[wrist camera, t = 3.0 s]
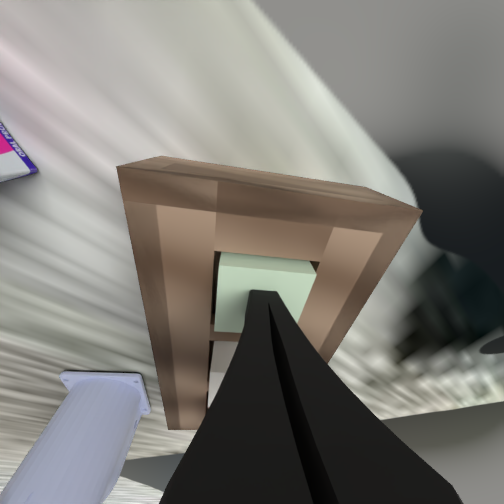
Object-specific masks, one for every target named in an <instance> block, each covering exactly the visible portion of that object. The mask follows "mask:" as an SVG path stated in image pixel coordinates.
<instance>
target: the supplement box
mask: <svg viewBox="0 0 504 504" xmlns="http://www.w3.org/2000/svg"><path fill="white" fill-rule="evenodd" d="M36 172H37V169H36V167H35V166H34V165H33V163H32V162H31V161H30V160H29V158H28V157H27V156H26V155H25V153H24V152H23V151H22V150H21V149H20V148H19V146H18V145H17V144H16V143H15V141H14V140H13V138H12V137H11V136H10V135H9V133H8V132H7V131H6V129H5V128H4V127H3V125H2V124H1V122H0V182H4V181H8V180H12V179H15V178H19V177H23V176H27V175H30V174H33V173H36Z"/></svg>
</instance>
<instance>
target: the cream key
mask: <svg viewBox="0 0 504 504" xmlns="http://www.w3.org/2000/svg"><path fill="white" fill-rule="evenodd" d="M237 344H238V342H230V341H214V347H213V354H212V361H211V368H210V380H209V395H208V407H210V405H211V403H212V401H213V399H214V397H215V395H216V393H217V391H218V389H219V387H220V384H221V382H222V380H223V378H224V376H225V373H226V371H227V369H228V367H229V364H230V362H231V360H232V357H233V355H234V352H235V350H236V347H237Z"/></svg>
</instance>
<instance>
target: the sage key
mask: <svg viewBox="0 0 504 504" xmlns="http://www.w3.org/2000/svg"><path fill="white" fill-rule="evenodd" d="M316 275H317V274H316V272H315V270H314V269H313V267H312V265H311V263H310V261H309V260H299V259H289V258H280V257H270V256H260V255H250V254H241V253H231V252H221V257H220V262H219V271H218V285H217V299H216V312H215V326H214V331H217V332H235V333H242V330H243V327H244V321H245V313H246V307H247V302H248V297H249V291H250V290H252V289H255V290H267V291H277V292H278V293H279V295H280V297H281V299H282V300H283V302H284V304H285V305H286V307H287V309H288V310H289V312H290V313H291V315H292V317H293V318H294V320H295V321H296V323H298V320H299V318H300V315H301V313H302V310H303V308H304V305H305V303H306V300H307V298H308V295H309V293H310V290H311V288H312V285H313V283H314V280H315V278H316Z"/></svg>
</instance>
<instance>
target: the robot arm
mask: <svg viewBox="0 0 504 504" xmlns="http://www.w3.org/2000/svg"><path fill="white" fill-rule="evenodd" d="M59 378H60V379H61V381H62V382H63V383H64V385H65V386H66V388H67V389H68V391H69V393H68V395H67V396H66V398H65V399H64V401H63V402H62V404H61V405H60V407H59V408H58V410H57V411H56V413H55V414H54V416H53V417H52V418H51V420H50V421H49V423H48V424H47V426H46V427H45V429H44V430H43V432H42V433H41V435H40V436H39V438H38V439H37V441H36V442H35V444H34V445H33V447H32V448H31V449H30V451H29V452H28V454H27V455H26V457H25V458H24V460H23V461H22V463H21V464H20V466H19V467H18V469H17V470H16V472H15V473H14V475H13V476H12V478H11V479H10V481H9V482H8V483H7V485H6V486H5V488H4V489H3V491H2V492H1V494H0V504H102V503H103V502H104V500H105V499H106V498H107V497H108V495H109V494H110V492H111V491H112V489H113V488H114V486H115V484H116V482H117V480H118V478H119V475H120V473H121V470H122V467H123V465H124V462H125V459H126V456H127V453H128V451H129V448H130V445H131V442H132V440H133V437H134V434H135V431H136V429H137V426H138V423H139V420H140V418H141V415H142V414H149V413H150V411H151V408H150V405H149V401H148V397H147V394H146V390H145V387H144V383H143V379H142V376H141V375H140V374H137V373H105V372H72V371H64V372H62V373H61V374H60V375H59ZM159 504H463V502H462V500H461V499H460V497H459V495H458V494H457V493H456V491H455V489H454V488H453V486H452V485H451V484H450V483H449V482H448V481H447V480H445V479H444V478H443V477H442V476H441V475H440V474H438V473H437V472H436V471H435V470H434V469H433V468H432V467H431V466H429V465H428V464H427V463H426V462H425V461H424V460H423V459H422V458H420V457H419V456H418V455H417V454H416V453H415V452H414V451H412V450H411V449H410V448H409V447H408V446H407V445H406V444H405V443H403V442H402V441H401V440H400V439H399V438H398V437H397V436H396V435H395V434H394V433H393V432H392V431H391V430H390V429H389V428H388V427H386V426H385V425H384V424H383V423H382V422H381V421H380V420H379V419H378V418H377V417H376V416H375V415H374V414H373V413H372V412H371V411H370V410H369V409H368V408H367V407H366V406H365V405H364V404H363V403H362V402H361V401H360V399H359V398H358V397H357V396H356V395H355V394H354V393H353V392H352V391H351V390H350V389H349V388H348V387H347V386H346V385H345V384H344V383H343V382H342V380H341V379H340V378H339V377H338V376H337V375H336V374H335V373H334V371H333V370H332V369H331V368H330V367H329V365H328V364H327V363H326V362H325V361H324V359H323V358H322V357H321V356H320V354H319V353H318V352H317V351H316V349H315V348H314V347H313V345H312V344H311V343H310V341H309V340H308V339H307V337H306V336H305V334H304V333H303V331H302V330H301V329H300V327H299V326H298V324H297V323H296V321H295V320H294V318H293V317H292V315H291V313H290V312H289V310H288V309H287V307H286V305H285V304H284V302H283V300H282V299H281V297H280V295H279V293H278V292H277V291H267V290H255V289H252V290H250V291H249V297H248V302H247V307H246V313H245V321H244V327H243V330H242V333H241V336H240V339H239V342H238V344H237V347H236V350H235V352H234V355H233V357H232V360H231V362H230V364H229V367H228V369H227V371H226V373H225V376H224V378H223V380H222V382H221V384H220V387H219V389H218V391H217V393H216V395H215V397H214V399H213V401H212V403H211V405H210V407H209V409H208V411H207V413H206V415H205V417H204V419H203V421H202V423H201V425H200V426H199V428H198V430H197V432H196V434H195V436H194V438H193V440H192V442H191V443H190V445H189V447H188V449H187V451H186V452H185V454H184V456H183V458H182V460H181V461H180V463H179V465H178V467H177V469H176V470H175V472H174V474H173V476H172V477H171V479H170V481H169V483H168V485H167V487H166V489H165V491H164V493H163V496H162V498H161V500H160V502H159Z"/></svg>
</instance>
